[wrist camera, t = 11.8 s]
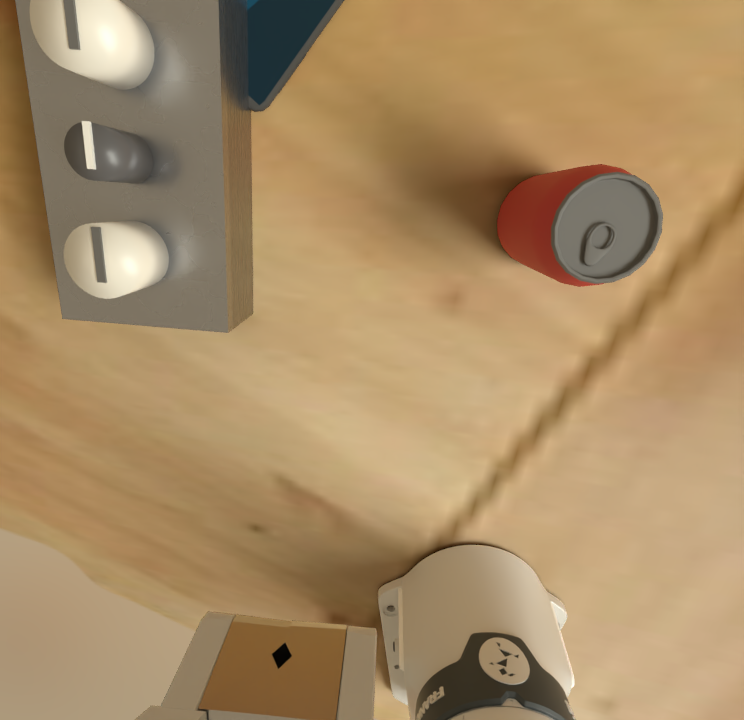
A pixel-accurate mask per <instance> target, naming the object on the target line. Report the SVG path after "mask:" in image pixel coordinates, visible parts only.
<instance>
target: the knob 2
mask: <svg viewBox="0 0 744 720" xmlns="http://www.w3.org/2000/svg"><path fill="white" fill-rule="evenodd" d="M64 261H65V265H66V268H67V271H68V273H69V275H70V276H71V278H72V279H73V281H74V282H75V283H76V284H77V285H78V286H79V287H80V288H81V289H82V290H84V291H85V292H87V293H88V294H90V295H93V296H95V297H98V298H104V299H112V298H117V297H120V296H123V295H126V294H129V293H132V292H135V291H138V290H141V289H144V288H147V287H150V286H152V285H155V284H156V283H158V282H159V281H160V280H161V279H162V278H163V277H164V275H165V274H166V272H167V269H168V264H169V255H168V250H167V247H166V244H165V243H164V241H163V239H162V238H161V236H160V235H159V234H158V233H157V232H156V231H155V230H154V229H153V228H151V227H150V226H148V225H147V224H144V223H142V222H138V221H117V222H102V223H89V224H84V225H81V226H79V227H77V228H76V229H75V230H73V231H72V232H71V234H70V235H69V236H68V238H67V240H66V243H65V246H64Z"/></svg>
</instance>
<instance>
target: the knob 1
mask: <svg viewBox="0 0 744 720" xmlns="http://www.w3.org/2000/svg"><path fill="white" fill-rule="evenodd" d="M30 21H31V26H32V30H33V33H34V35H35V38H36V40H37V42H38V44H39V45H40V47H41V48H42V50H43V51H44V52H45V54H46V55H47V56H48V57H49V58H50V59H51V60H52V61H54V62H55V63H56V64H58V65H59V66H61V67H63V68H65V69H67V70H70V71H72V72H75V73H77V74H80V75H82V76H85V77H87V78H90V79H92V80H94V81H97V82H99V83H102V84H104V85H107V86H109V87H112V88H115V89H120V90H127V89H132V88H135V87H137V86H139V85H140V84H142V83H143V82H144V81H145V80H146V79H147V77H148V76H149V74H150V72H151V70H152V67H153V63H154V43H153V39H152V36H151V33H150V31H149V29H148V27H147V25H146V24H145V22H144V21H143V19H142V18H141V17H140V16H139V15H138V14H137V13H136V12H135V11H133V10H132V9H131V8H129V7H128V6H127V5H125V4H124V3H122V2H121V1H120V0H30Z"/></svg>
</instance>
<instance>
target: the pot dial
mask: <svg viewBox="0 0 744 720" xmlns="http://www.w3.org/2000/svg"><path fill="white" fill-rule="evenodd" d="M64 151H65V155H66V158H67V161H68V162H69V164H70V166H71V167H72V168H73V170H74V171H75V172H76V173H77V174H79V175H80V176H82V177H83V178H86V179H88V180H93V181H105V182H118V183H132V184H136V183H140V182H143V181H144V180H146V179H147V178H148V177H149V175H150V174H151V171H152V168H153V156H152V152H151V150H150V148H149V146H148V144H147V143H146V142H145V141H144V140H143V139H142V138H141V137H139V136H138V135H136V134H133V133H130V132H126V131H122V130H118V129H115V128H111V127H107V126H103V125H99V124H96V123H92V122H89V121H82V122H80V123H77V124H75V125H73V126H72V127H71V128H70V129H69V131H68V132H67V134H66V136H65V140H64Z"/></svg>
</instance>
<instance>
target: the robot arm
mask: <svg viewBox="0 0 744 720" xmlns="http://www.w3.org/2000/svg"><path fill="white" fill-rule="evenodd" d="M378 604H379V610H380V617H381V624H382V630H383V637H384V644H385V650H386V657H387V663H388V670H389V677H390V683H391V690H392V694H393V697H394V698H395V699H397V700H399V701H400V702H402V703H404V704H406V705H408V708H409V715H410V720H576V719H575V716H574V713H573V711H572V708H571V707H570V705H569V702H568V699H567V697H568V696H569V694H570V691H571V688H572V687H574V675H573V672H572V668H571V665H570V661H569V658H568V654H567V651H566V648H565V644H564V641H563V638H562V634H561V629H562V627H563V625H564V623H565V622H566V619H567V613H566V609H565V606H564V604H563V603H562V602H561V601H560V600H559V599H557V598H556V597H555V596H553V595H552V594H550V593H549V592H547V591H546V590H545V588H544V587H543V585H542V584H541V582H540V580H539V578H538V577H537V575H536V573H535V572H534V571H533V570H532V568H531V567H530V566H529V565H528V564H527V563H525V562H524V561H523V560H521V559H520V558H519V557H517V556H515V555H513V554H511V553H509V552H507V551H504V550H502V549H499V548H495V547H490V546H484V545H462V546H455V547H450V548H447V549H443V550H441V551H438V552H436V553H434V554H432V555H430V556H428V557H426V558H425V559H423V560H422V561H420V562H419V563H418V564H417V565H416V566H415V567H414V568H413V569H412V570H410V571H409V572H408V573H407V574H406V575H405V576H403V577H401V578H399V579H396V580H394V581H391V582H389V583H387V584H385V585H383V586H382V587H380V589H379V590H378ZM390 605H392V606H390ZM376 647H377V631H376V628H367V627H357V626H348V629H347V625H341V624H329V623H317V622H305V621H293V620H292V621H285V620H277V619H269V618H261V617H253V616H246V615H238V614H237V615H236V614H227V613H219V612H210V611H208V612H207V613H206V615H205V616H204V617H203V618H202V619H201V621H200V624H199V626H198V628H197V630H196V632H195V634H194V637H193V639H192V641H191V643H190V645H189V647H188V649H187V651H186V653H185V656H184V658H183V660H182V662H181V664H180V666H179V668H178V671H177V672H176V675H175V677H174V679H173V681H172V683H171V685H170V688H169V690H168V692H167V694H166V696H165V698H164V700H163V703H162V704H161V706H150V707H149V708H148V709H147V710H146V711H144V712H143V713H142V714H141V715H140V716H138V717H137V718H136V719H135V720H373V716H374V693H375V670H376Z"/></svg>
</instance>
